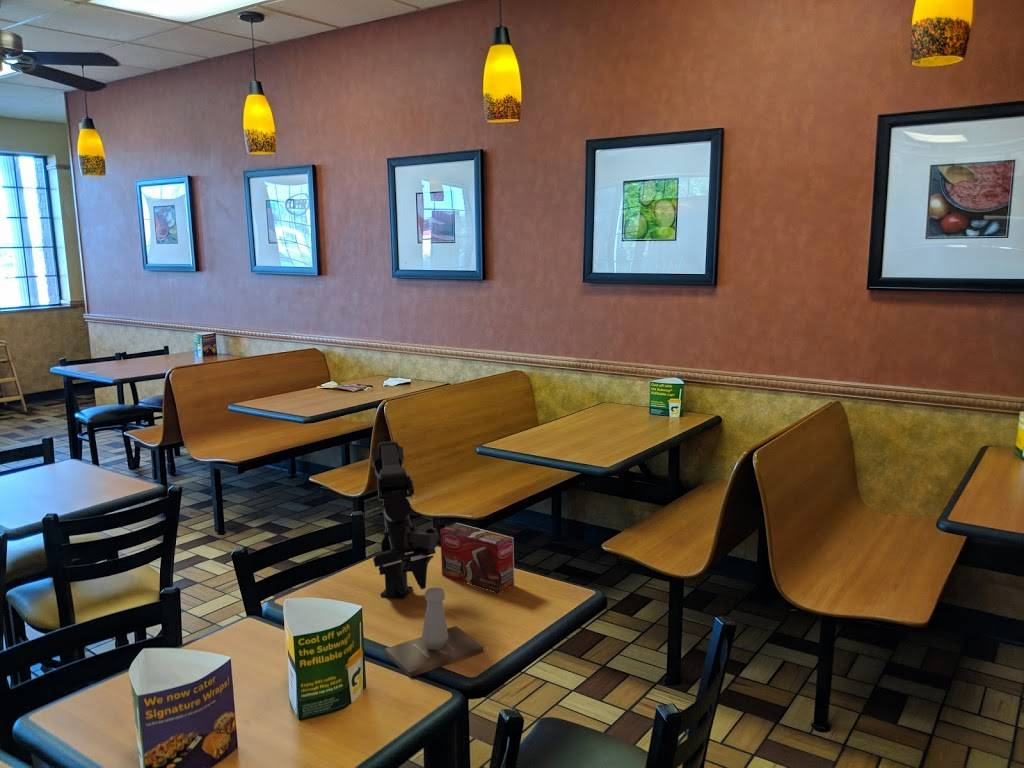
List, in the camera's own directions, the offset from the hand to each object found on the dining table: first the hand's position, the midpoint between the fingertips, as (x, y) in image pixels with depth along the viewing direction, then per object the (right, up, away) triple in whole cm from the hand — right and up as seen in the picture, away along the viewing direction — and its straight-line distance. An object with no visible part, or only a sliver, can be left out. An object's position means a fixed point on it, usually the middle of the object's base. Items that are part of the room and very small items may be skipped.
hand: (413, 591), depth 179 cm
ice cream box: (+13, -5, +29) cm, 33 cm away
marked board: (+5, -11, -8) cm, 15 cm away
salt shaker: (+6, -10, -7) cm, 14 cm away
